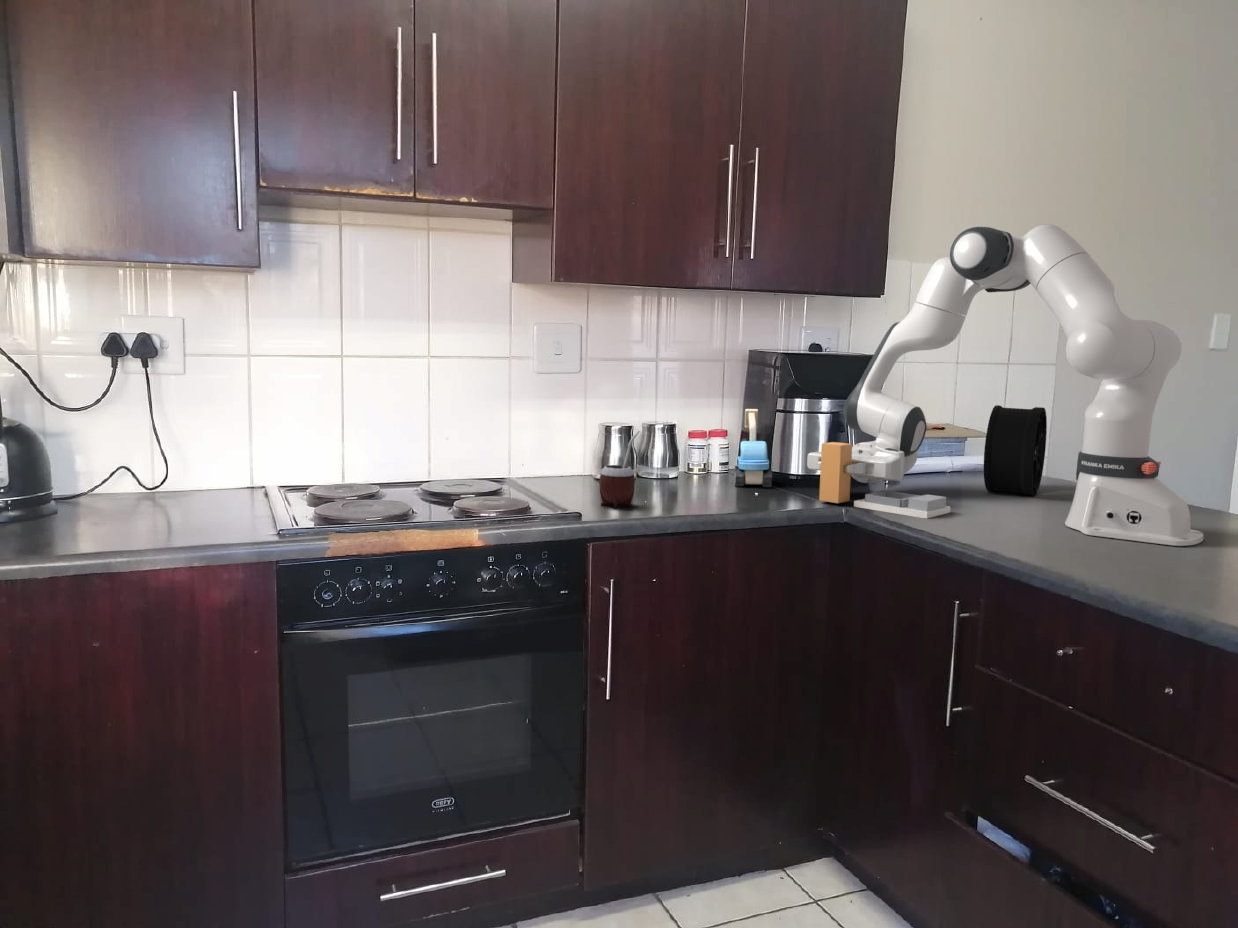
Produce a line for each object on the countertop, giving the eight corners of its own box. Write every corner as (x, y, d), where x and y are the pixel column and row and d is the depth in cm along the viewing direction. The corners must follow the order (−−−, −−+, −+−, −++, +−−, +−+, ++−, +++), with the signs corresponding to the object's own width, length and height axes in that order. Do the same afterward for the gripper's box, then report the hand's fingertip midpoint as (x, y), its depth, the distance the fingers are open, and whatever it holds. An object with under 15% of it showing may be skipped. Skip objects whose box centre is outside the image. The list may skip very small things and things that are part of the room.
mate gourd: (596, 508, 183) (598, 433, 181) (602, 501, 191) (603, 429, 188) (634, 510, 182) (636, 434, 180) (638, 503, 190) (640, 430, 188)
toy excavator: (768, 478, 227) (771, 408, 225) (772, 489, 211) (776, 414, 208) (732, 477, 228) (735, 407, 226) (734, 488, 212) (737, 413, 209)
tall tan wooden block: (849, 500, 195) (852, 444, 193) (837, 503, 191) (840, 445, 190) (830, 497, 198) (833, 442, 196) (819, 500, 195) (821, 443, 193)
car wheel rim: (1029, 501, 203) (1037, 410, 200) (980, 496, 208) (987, 407, 206) (1041, 489, 220) (1049, 405, 217) (996, 485, 225) (1003, 402, 222)
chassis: (949, 512, 187) (951, 496, 187) (926, 518, 180) (927, 502, 180) (878, 501, 199) (879, 486, 198) (853, 506, 191) (854, 491, 191)
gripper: (827, 443, 210) (792, 448, 200) (911, 452, 195) (878, 457, 186) (826, 471, 210) (791, 476, 201) (909, 481, 196) (876, 488, 186)
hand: (833, 467), depth 193 cm, fingers closed on tall tan wooden block, 4 cm apart
